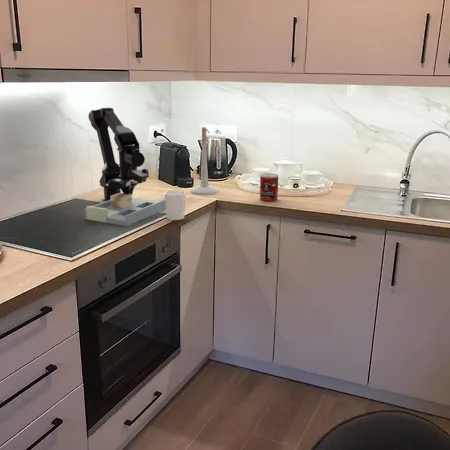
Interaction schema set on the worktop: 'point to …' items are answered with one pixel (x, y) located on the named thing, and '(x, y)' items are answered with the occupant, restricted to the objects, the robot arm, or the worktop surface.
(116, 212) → the board
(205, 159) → the candlestick
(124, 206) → the maple block
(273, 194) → the canned food
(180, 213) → the white cup
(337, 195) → the worktop surface
